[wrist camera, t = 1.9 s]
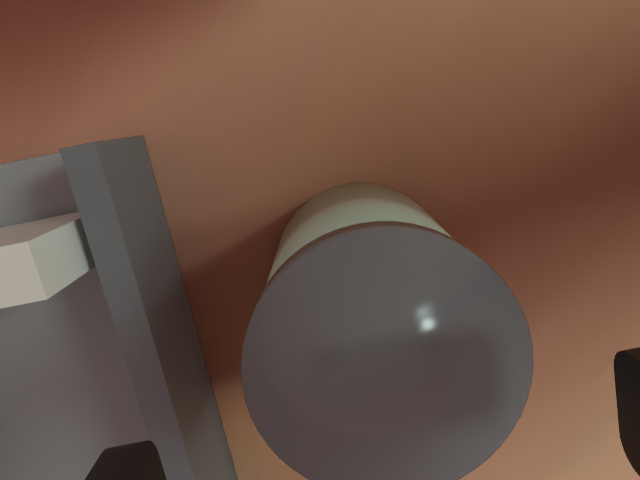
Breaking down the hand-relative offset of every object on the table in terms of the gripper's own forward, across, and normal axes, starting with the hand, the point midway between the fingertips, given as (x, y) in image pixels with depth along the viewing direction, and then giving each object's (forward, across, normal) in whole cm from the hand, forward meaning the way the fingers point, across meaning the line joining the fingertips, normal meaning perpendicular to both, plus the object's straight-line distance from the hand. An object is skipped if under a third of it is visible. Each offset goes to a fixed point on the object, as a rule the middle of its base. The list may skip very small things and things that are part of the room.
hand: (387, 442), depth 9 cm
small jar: (+10, 0, 0) cm, 10 cm away
